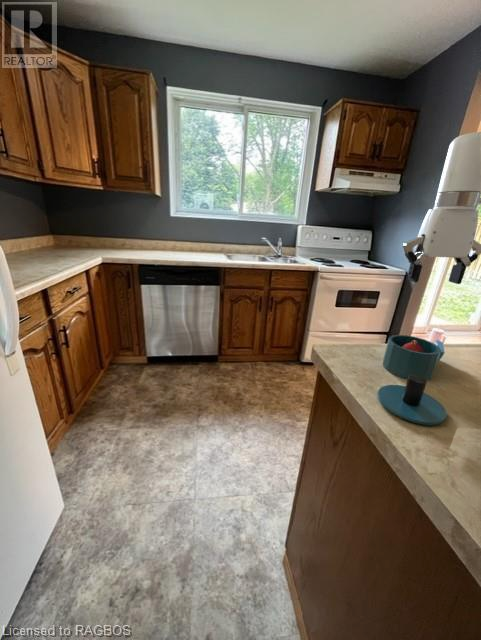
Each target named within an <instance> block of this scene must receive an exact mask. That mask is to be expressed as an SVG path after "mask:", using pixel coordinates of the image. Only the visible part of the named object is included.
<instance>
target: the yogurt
mask: <svg viewBox="0 0 481 640" xmlns="http://www.w3.org/2000/svg"><path fill="white" fill-rule="evenodd" d="M434 344H435V345H437V346H438V347H439V348H440V349H441V353H440V356H439V359H438V362H437V364H438V363H439V362H440V361H441V359H442V357H443V356H445V346H444V342H443V341H441V340H439V339H436V340H435V342H434Z"/></svg>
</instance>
